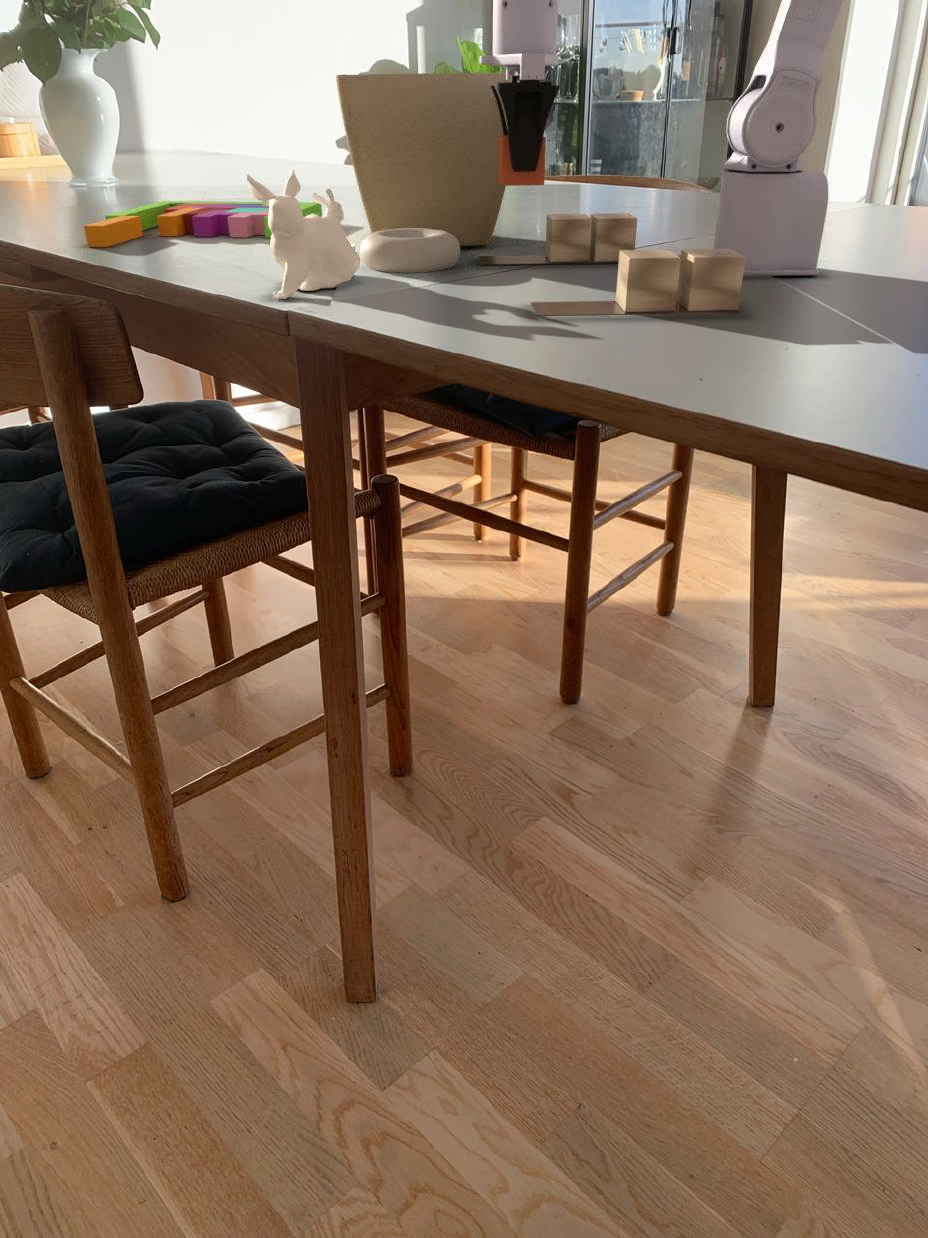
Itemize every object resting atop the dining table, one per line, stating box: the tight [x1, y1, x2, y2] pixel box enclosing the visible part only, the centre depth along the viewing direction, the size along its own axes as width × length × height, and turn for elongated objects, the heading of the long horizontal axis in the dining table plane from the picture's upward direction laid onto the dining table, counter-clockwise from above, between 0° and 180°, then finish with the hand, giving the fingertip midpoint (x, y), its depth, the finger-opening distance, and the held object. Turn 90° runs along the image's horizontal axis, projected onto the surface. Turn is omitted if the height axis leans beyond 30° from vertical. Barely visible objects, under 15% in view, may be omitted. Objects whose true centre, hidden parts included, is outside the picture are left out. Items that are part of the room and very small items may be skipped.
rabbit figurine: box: [245, 167, 361, 300], centre depth 82 cm, size 12×8×10 cm, turn 140°
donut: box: [359, 228, 461, 274], centre depth 91 cm, size 10×4×10 cm
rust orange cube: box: [498, 135, 547, 187], centre depth 86 cm, size 4×4×4 cm
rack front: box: [529, 248, 746, 317], centre depth 72 cm, size 16×5×4 cm, turn 92°
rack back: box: [477, 212, 638, 268], centre depth 93 cm, size 16×5×4 cm, turn 92°
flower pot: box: [335, 72, 510, 247], centre depth 103 cm, size 19×19×17 cm
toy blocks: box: [83, 200, 323, 248], centre depth 114 cm, size 23×2×25 cm
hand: (521, 169), depth 86 cm, fingers closed on rust orange cube, 4 cm apart
